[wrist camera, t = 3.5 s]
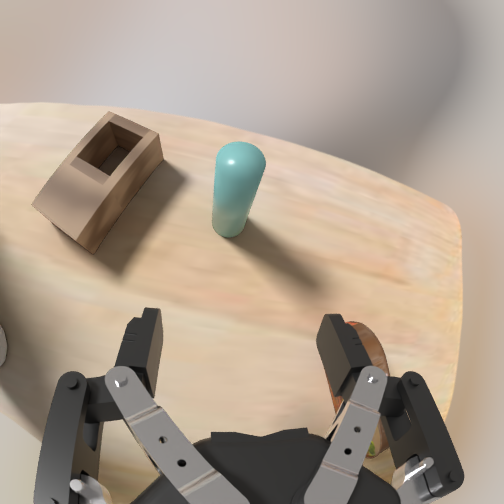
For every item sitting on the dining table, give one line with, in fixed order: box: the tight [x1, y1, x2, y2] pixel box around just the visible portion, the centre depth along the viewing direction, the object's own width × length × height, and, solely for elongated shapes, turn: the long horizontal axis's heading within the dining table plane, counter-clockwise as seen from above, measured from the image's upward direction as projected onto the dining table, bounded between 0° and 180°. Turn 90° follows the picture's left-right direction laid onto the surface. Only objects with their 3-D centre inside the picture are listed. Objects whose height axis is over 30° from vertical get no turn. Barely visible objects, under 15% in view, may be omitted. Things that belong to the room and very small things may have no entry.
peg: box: [212, 142, 266, 238], centre depth 26 cm, size 4×4×12 cm
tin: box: [324, 321, 390, 458], centre depth 24 cm, size 15×3×8 cm, turn 15°
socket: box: [31, 112, 164, 255], centre depth 28 cm, size 14×8×5 cm, turn 151°
